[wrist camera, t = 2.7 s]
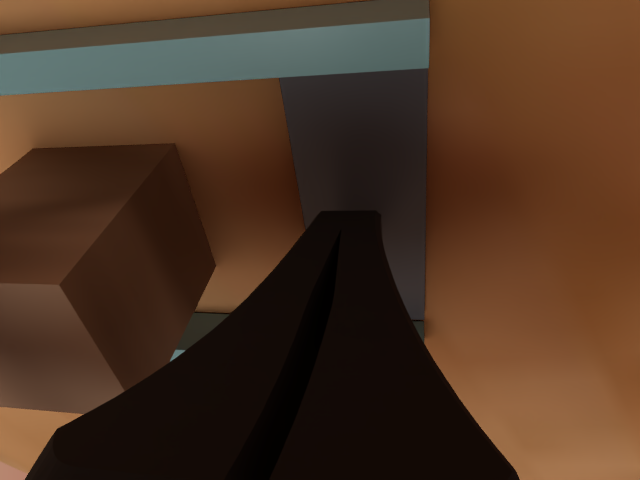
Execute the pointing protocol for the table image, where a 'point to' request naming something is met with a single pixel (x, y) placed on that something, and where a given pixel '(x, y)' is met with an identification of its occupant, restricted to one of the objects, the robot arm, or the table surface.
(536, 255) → the table surface
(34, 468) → the robot arm
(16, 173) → the walnut block
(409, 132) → the channel
